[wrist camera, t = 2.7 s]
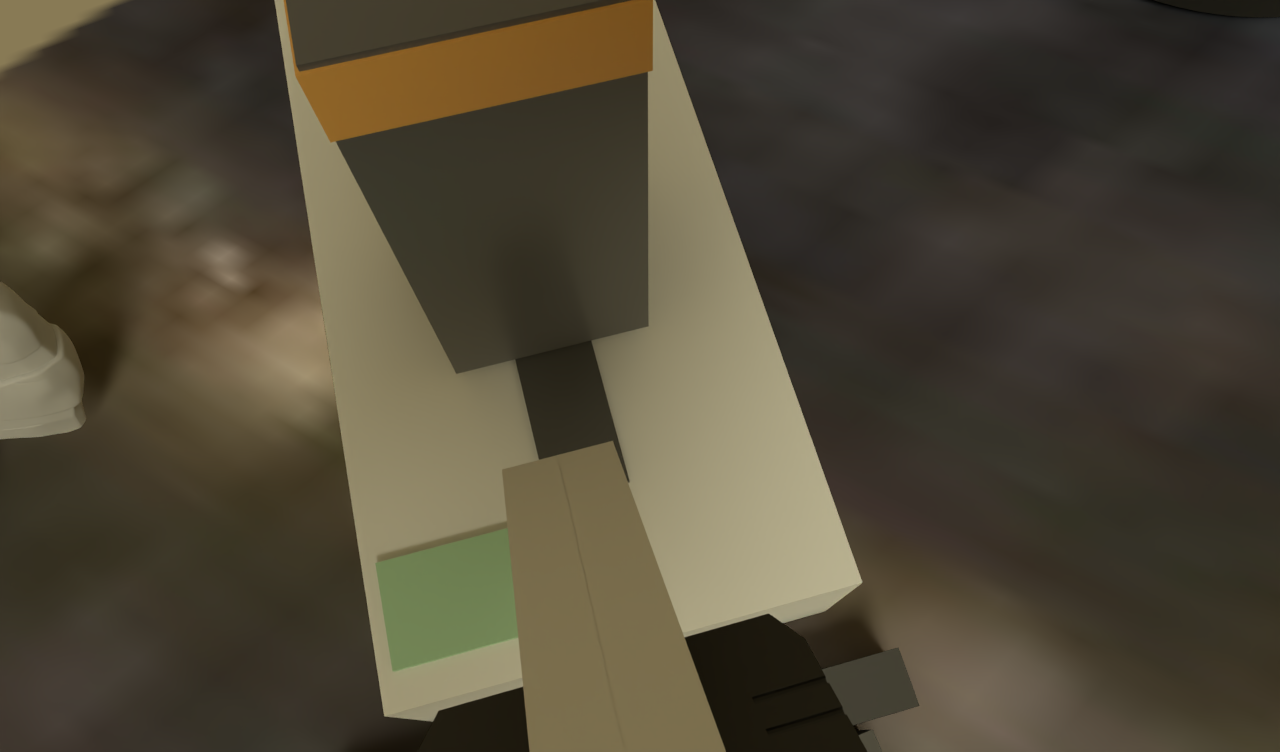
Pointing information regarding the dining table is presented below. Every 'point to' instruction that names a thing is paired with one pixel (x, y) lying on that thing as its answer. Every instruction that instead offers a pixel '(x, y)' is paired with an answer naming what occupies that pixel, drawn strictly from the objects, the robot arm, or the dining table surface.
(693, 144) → the switch box
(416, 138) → the lever
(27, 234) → the dining table surface
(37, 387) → the mug
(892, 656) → the dark grey rail bar
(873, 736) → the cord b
